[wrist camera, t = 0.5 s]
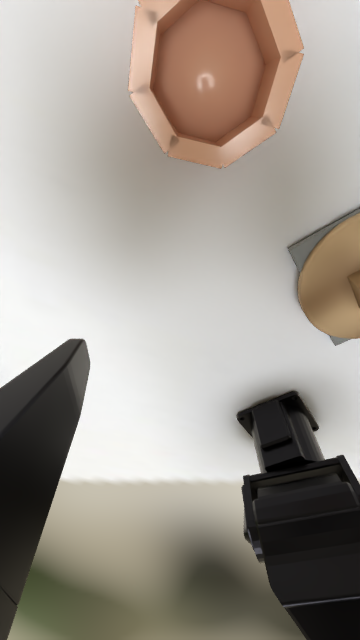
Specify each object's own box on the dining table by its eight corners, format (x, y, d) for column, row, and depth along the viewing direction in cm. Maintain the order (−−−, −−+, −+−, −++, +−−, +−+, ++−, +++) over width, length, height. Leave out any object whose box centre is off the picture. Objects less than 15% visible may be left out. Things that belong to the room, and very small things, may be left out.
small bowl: (296, 102, 17) (321, 101, 14) (186, 180, 19) (188, 193, 16) (236, -64, 13) (252, -112, 10) (111, 53, 15) (96, 41, 13)
